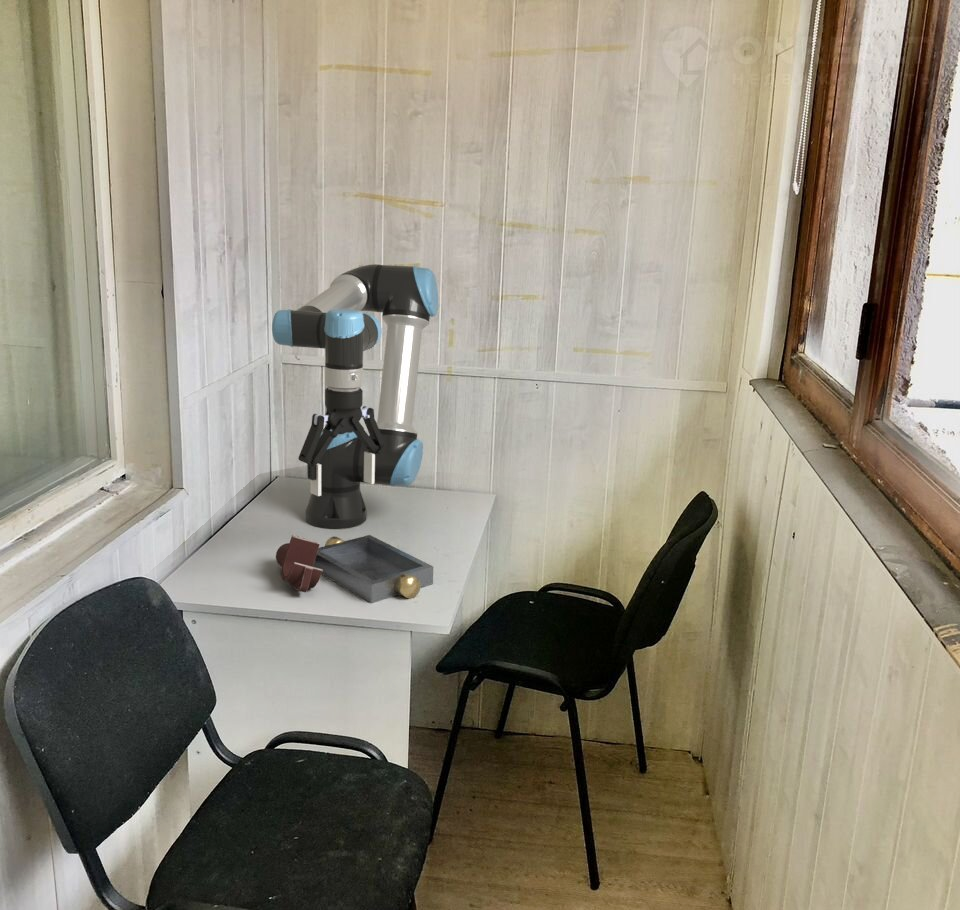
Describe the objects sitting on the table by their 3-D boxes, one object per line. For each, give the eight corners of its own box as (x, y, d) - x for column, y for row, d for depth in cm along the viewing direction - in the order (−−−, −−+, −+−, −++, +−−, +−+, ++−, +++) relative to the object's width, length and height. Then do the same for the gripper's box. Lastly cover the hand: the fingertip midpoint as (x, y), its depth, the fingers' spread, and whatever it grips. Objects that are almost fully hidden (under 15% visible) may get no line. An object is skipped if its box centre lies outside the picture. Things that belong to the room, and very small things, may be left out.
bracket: (288, 589, 183) (304, 540, 184) (267, 574, 198) (282, 529, 199) (317, 596, 186) (332, 548, 187) (294, 580, 201) (308, 537, 202)
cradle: (302, 562, 203) (302, 544, 202) (361, 547, 214) (362, 529, 213) (380, 608, 183) (380, 587, 182) (441, 588, 193) (442, 569, 192)
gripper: (302, 397, 174) (302, 504, 179) (403, 384, 191) (401, 482, 197) (280, 391, 179) (281, 494, 184) (380, 378, 196) (378, 473, 202)
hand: (343, 488), depth 191 cm, fingers open, 13 cm apart
